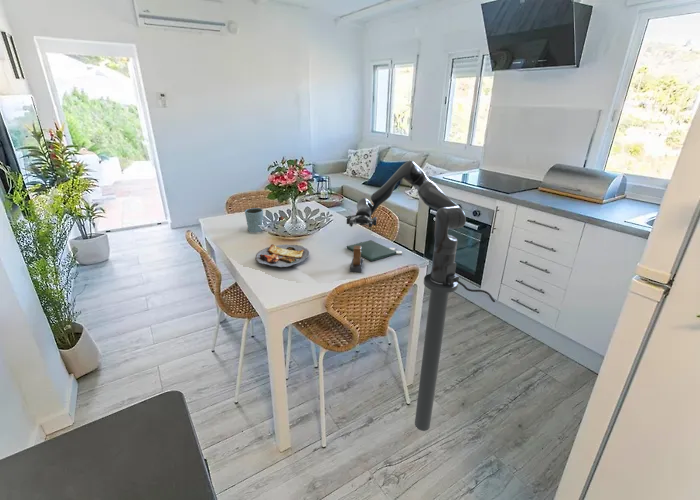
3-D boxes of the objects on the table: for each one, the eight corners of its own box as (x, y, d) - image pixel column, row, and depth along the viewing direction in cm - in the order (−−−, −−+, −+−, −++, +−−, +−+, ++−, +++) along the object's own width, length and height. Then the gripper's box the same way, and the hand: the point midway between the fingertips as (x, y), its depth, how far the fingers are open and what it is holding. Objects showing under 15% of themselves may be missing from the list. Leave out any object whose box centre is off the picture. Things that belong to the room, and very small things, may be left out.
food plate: (245, 263, 160) (245, 256, 158) (273, 245, 179) (273, 239, 178) (293, 273, 151) (293, 266, 150) (317, 253, 171) (317, 247, 170)
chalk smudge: (395, 248, 180) (395, 247, 179) (395, 251, 177) (395, 250, 177) (389, 248, 180) (389, 247, 180) (389, 250, 177) (389, 249, 177)
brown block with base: (363, 263, 162) (364, 243, 158) (361, 273, 152) (362, 251, 149) (352, 262, 162) (353, 242, 158) (349, 272, 153) (350, 251, 149)
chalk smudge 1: (401, 251, 176) (401, 250, 175) (401, 254, 173) (402, 253, 173) (395, 251, 176) (395, 250, 176) (395, 253, 173) (395, 252, 173)
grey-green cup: (256, 234, 196) (254, 214, 191) (242, 231, 201) (240, 211, 196) (268, 229, 204) (266, 209, 199) (255, 226, 209) (253, 206, 204)
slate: (396, 254, 173) (396, 251, 172) (371, 261, 164) (371, 259, 164) (370, 242, 188) (371, 240, 187) (346, 248, 179) (346, 246, 179)
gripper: (349, 207, 175) (345, 216, 160) (377, 208, 174) (376, 218, 159) (349, 221, 178) (345, 232, 163) (377, 223, 176) (375, 233, 162)
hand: (360, 225), depth 161 cm, fingers open, 8 cm apart
